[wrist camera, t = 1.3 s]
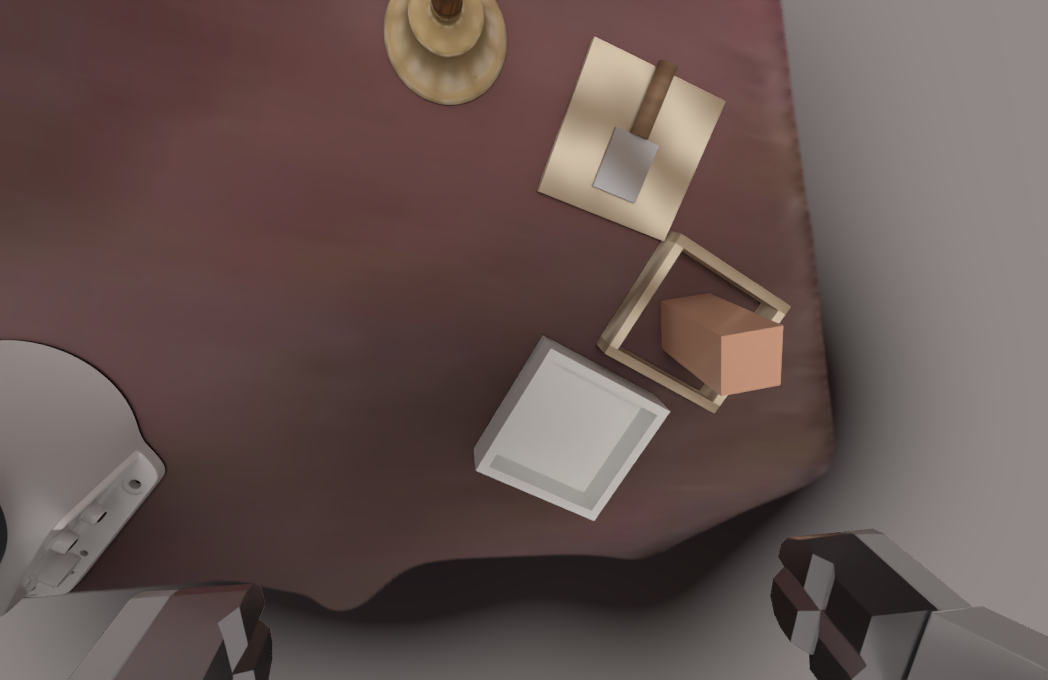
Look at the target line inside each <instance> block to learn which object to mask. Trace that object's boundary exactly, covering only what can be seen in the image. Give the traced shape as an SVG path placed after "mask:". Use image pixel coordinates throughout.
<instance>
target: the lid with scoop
mask: <svg viewBox="0 0 1048 680" xmlns="http://www.w3.org/2000/svg"><path fill="white" fill-rule="evenodd" d="M676 70H677V66H676V65H675V64H673V63H671V62H669V61H665V60H660V61H659V62H658V64H657V67H655V66H653V65H651V64H649V63H647V62H645V61H643V60H641V59H639V58H637V57H635V56H633V55H631V54H629V53H627V52H625V51H623V50H621V49H619V48H617V47H615V46H613V45H611V44H609V43H607V42H605V41H603V40H601V39H599V38H597V37H594V38H593V39H592V40H591V42H590V45H589V48H588V51H587V53H586V56H585V59H584V62H583V64H582V67H581V70H580V73H579V75H578V78H577V81H576V84H575V86H574V89H573V92H572V95H571V97H570V100H569V103H568V106H567V108H566V111H565V114H564V117H563V119H562V122H561V125H560V128H559V130H558V133H557V136H556V139H555V141H554V144H553V147H552V150H551V152H550V155H549V158H548V161H547V163H546V166H545V169H544V171H543V174H542V177H541V180H540V182H539V185H538V188H537V191H538V192H540V193H543V194H545V195H548V196H550V197H553V198H555V199H558V200H560V201H563V202H565V203H568V204H570V205H573V206H575V207H578V208H580V209H583V210H586V211H588V212H591V213H593V214H596V215H598V216H601V217H603V218H606V219H608V220H611V221H613V222H616V223H618V224H621V225H623V226H626V227H628V228H631V229H633V230H636V231H638V232H641V233H643V234H646V235H648V236H651V237H653V238H656V239H658V240H661V241H664V240H665V238H666V236H667V234H668V231H669V229H670V227H671V225H672V222H673V220H674V218H675V215H676V213H677V211H678V209H679V206H680V204H681V202H682V199H683V197H684V195H685V193H686V190H687V188H688V186H689V184H690V181H691V179H692V177H693V174H694V172H695V170H696V168H697V165H698V163H699V161H700V159H701V156H702V154H703V152H704V149H705V147H706V145H707V143H708V140H709V138H710V136H711V133H712V131H713V129H714V127H715V124H716V122H717V120H718V118H719V115H720V113H721V111H722V108H723V106H724V104H725V102H726V101H724V100H722V99H720V98H718V97H716V96H714V95H712V94H710V93H708V92H706V91H704V90H702V89H700V88H698V87H696V86H694V85H692V84H690V83H688V82H686V81H684V80H682V79H680V78H678V77H676V76H674V75H675V72H676Z"/></svg>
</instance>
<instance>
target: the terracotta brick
mask: <svg viewBox="0 0 1048 680" xmlns="http://www.w3.org/2000/svg"><path fill="white" fill-rule="evenodd" d="M660 309H661V336H662V349H663V350H664V351H665V352H666V353H668V354H669V355H670V356H671V357H673V358H674V359H675V360H676V361H678V362H679V363H680V364H681V365H683V366H684V367H685V368H686V369H688V370H689V371H690V372H691V373H693V374H694V375H695V376H696V377H698V378H699V379H700V380H701V381H703V382H704V383H705V384H706V385H708V386H709V387H710V388H711V389H713V390H714V391H715V392H716V393H718V394H719V395H720V396H725V395H730V394H736V393H741V392H746V391H752V390H757V389H762V388H768V387H773V386H778V385H780V383H781V362H782V342H783V325H781V324H779V323H776V322H774V321H772V320H769V319H767V318H765V317H763V316H760V315H758V314H756V313H754V312H751V311H749V310H747V309H744V308H742V307H740V306H738V305H735V304H733V303H731V302H728V301H726V300H724V299H722V298H719V297H717V296H715V295H713V294H710V293H706V294H699V295H693V296H687V297H681V298H675V299H669V300H663V301H660Z"/></svg>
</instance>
